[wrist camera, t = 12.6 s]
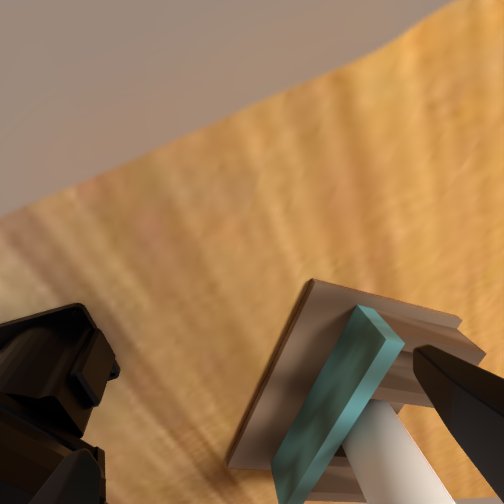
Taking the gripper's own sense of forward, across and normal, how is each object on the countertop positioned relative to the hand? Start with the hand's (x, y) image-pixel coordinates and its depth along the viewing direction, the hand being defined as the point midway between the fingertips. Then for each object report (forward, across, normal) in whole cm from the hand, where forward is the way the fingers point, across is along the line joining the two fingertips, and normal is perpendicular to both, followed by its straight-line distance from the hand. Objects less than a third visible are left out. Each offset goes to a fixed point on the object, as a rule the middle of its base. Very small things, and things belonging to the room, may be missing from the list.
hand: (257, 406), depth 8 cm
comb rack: (+13, -6, +17) cm, 22 cm away
